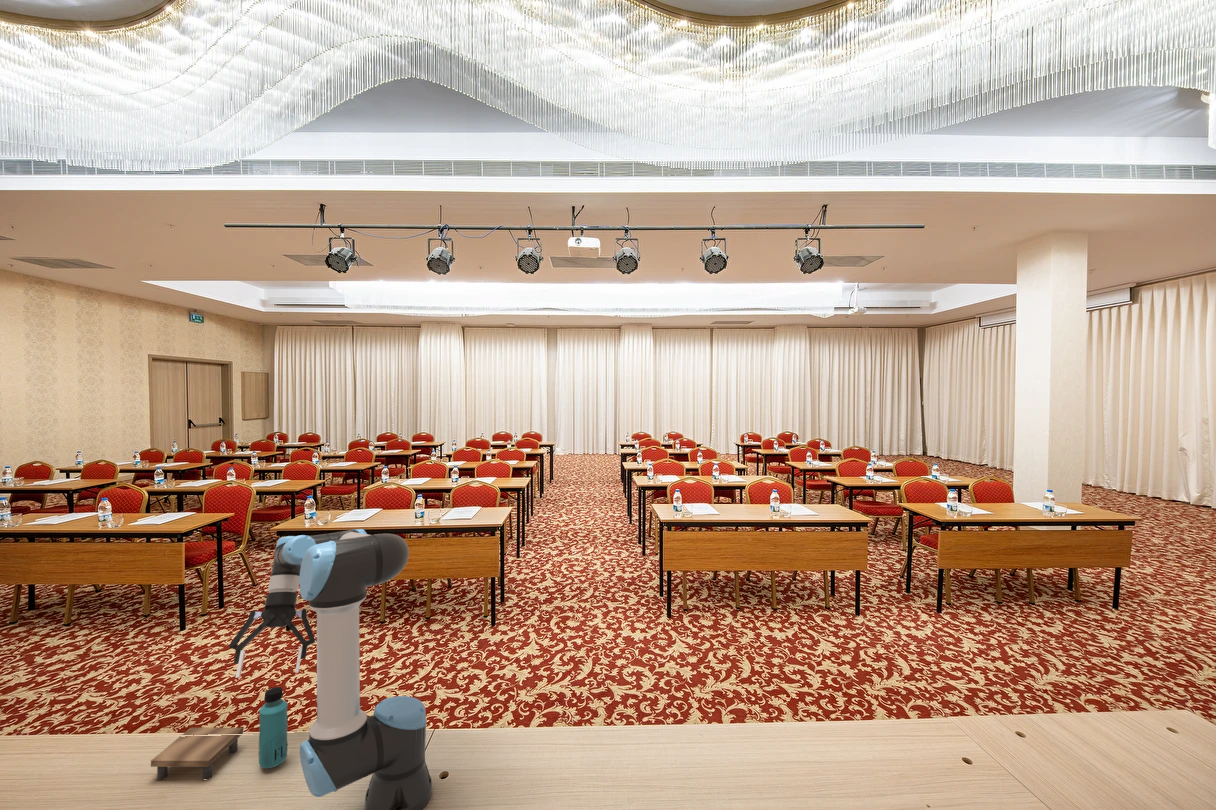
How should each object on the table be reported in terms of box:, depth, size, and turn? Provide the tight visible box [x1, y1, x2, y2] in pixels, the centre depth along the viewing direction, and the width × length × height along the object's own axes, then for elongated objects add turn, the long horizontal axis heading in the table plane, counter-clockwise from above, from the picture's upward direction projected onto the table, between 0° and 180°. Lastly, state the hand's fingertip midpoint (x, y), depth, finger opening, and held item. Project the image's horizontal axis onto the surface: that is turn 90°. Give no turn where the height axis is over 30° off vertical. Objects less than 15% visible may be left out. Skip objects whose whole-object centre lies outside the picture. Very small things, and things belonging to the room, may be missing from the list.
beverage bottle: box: [257, 686, 289, 769], centre depth 137 cm, size 6×7×20 cm
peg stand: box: [150, 727, 244, 781], centre depth 137 cm, size 14×13×6 cm
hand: (267, 675), depth 141 cm, fingers open, 13 cm apart
